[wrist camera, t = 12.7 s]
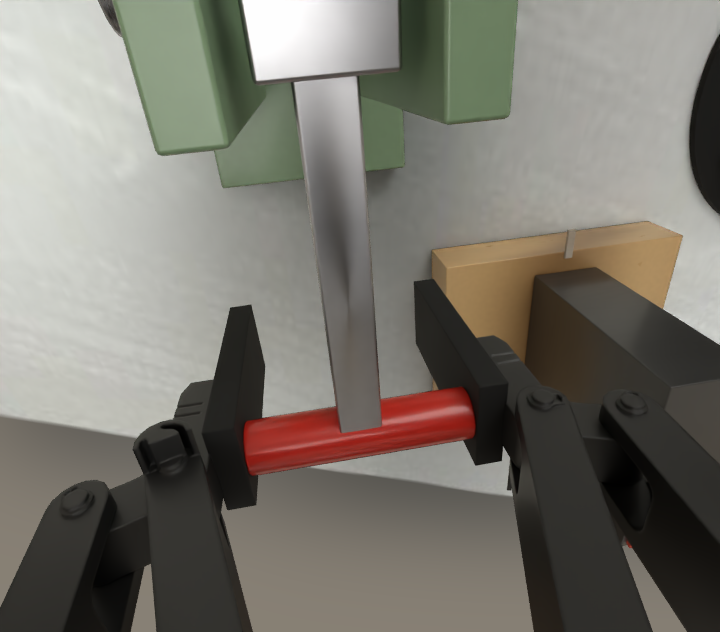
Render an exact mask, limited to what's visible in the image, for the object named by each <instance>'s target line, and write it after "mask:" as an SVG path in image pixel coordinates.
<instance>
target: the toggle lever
mask: <svg viewBox="0 0 720 632" xmlns="http://www.w3.org/2000/svg"><path fill="white" fill-rule="evenodd" d="M238 4H239V10H240V15H241V21H242V26H243V32H244V37H245V43H246V48H247V54H248V59H249V65H250V70H251V76H252V81H253V82H254V84H255V85H258V86H259V85H269V84H279V83H289V82H291V88H292V95H293V102H294V109H295V116H296V124H297V131H298V138H299V145H300V152H301V159H302V166H303V174H304V181H305V188H306V195H307V202H308V209H309V216H310V224H311V231H312V238H313V245H314V252H315V259H316V266H317V273H318V281H319V288H320V295H321V302H322V309H323V316H324V323H325V331H326V338H327V345H328V352H329V359H330V366H331V373H332V381H333V388H334V395H335V402H336V406H334V407H328V408H321V409H315V410H309V411H303V412H296V413H290V414H284V415H278V416H271V417H265V418H259V419H253V420H247V421H246V422H245V424H244V429H243V448H244V456H245V462H246V466H247V469H248V472H249V474H250V475H251V476H256V475H262V474H268V473H273V472H280V471H285V470H292V469H298V468H303V467H309V466H315V465H321V464H327V463H333V462H339V461H345V460H350V459H356V458H362V457H368V456H374V455H380V454H386V453H391V452H397V451H403V450H409V449H415V448H421V447H427V446H433V445H438V444H444V443H450V442H456V441H462V440H468V439H472V438H473V437H474V436H475V431H476V422H475V414H474V409H473V405H472V402H471V399H470V397H469V395H468V393H467V391H466V390H465V388H464V387H461V386H459V387H453V388H446V389H440V390H434V391H428V392H421V393H415V394H409V395H403V396H396V397H390V398H384V399H380V385H379V369H378V354H377V339H376V323H375V308H374V293H373V277H372V262H371V247H370V231H369V216H368V201H367V185H366V170H365V155H364V139H363V124H362V109H361V93H360V78H359V76H361V75H371V74H381V73H391V72H398V71H400V70H401V68H402V24H401V0H238Z"/></svg>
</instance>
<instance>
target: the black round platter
mask: <svg viewBox="0 0 720 632" xmlns="http://www.w3.org/2000/svg"><path fill="white" fill-rule="evenodd" d="M690 153H691V162H692V167H693V172H694V175H695V179H696V182H697V184H698V187H699V189H700V191H701V193H702V194H703V196H704V198H705V199H706V201H707V202H708V203H709V205H710V206H711V207H712V208H713V209H714V210H715V211H716V212H717V213H719V214H720V35H719V37H718V39H717V41H716V43H715V45H714V47H713V49H712V51H711V54H710V56H709V58H708V61H707V63H706V66H705V69H704V71H703V74H702V77H701V80H700V83H699V87H698V90H697V94H696V98H695V102H694V107H693V113H692V119H691V129H690Z"/></svg>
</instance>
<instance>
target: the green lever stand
mask: <svg viewBox="0 0 720 632" xmlns="http://www.w3.org/2000/svg"><path fill="white" fill-rule="evenodd" d="M98 2H99V4H100V6H101V8H102V11H103V13H104V14H105V16H106V18H107V20H108V22H109V23H110V25H111V26H112V28H113V29H114V31H115V32H116V33H117V34H118V35H119V36H120V37H122V38H123V40H124V44H125V47H126V51H127V54H128V58H129V61H130V65H131V68H132V72H133V75H134V79H135V82H136V86H137V89H138V92H139V96H140V99H141V103H142V106H143V110H144V113H145V117H146V120H147V124H148V127H149V131H150V134H151V138H152V141H153V144H154V148H155V151H156V152H157V153H158V155H162V156H168V155H177V154H186V153H195V152H204V151H213V150H214V153H215V157H216V162H217V166H218V171H219V175H220V179H221V184H222V187H223V188H230V187H239V186H247V185H256V184H264V183H273V182H282V181H290V180H299V179H304V174H303V166H302V159H301V152H300V145H299V138H298V131H297V124H296V116H295V109H294V102H293V95H292V88H291V82H289V83H279V84H269V85H259V86H258V85H255V84H254V82H253V81H252V76H251V70H250V65H249V59H248V54H247V48H246V43H245V37H244V32H243V26H242V21H241V15H240V10H239V4H238V0H98ZM517 6H518V0H401V24H402V68H401V70H400V71H398V72H391V73H381V74H371V75H361V76H359V78H360V93H361V109H362V124H363V139H364V155H365V170H366V172H367V171H376V170H385V169H393V168H402V167H404V166H405V158H404V129H403V110H405V111H408V112H411V113H414V114H417V115H420V116H423V117H426V118H429V119H432V120H435V121H438V122H441V123H444V124H447V125H452V124H461V123H470V122H479V121H488V120H498V119H505V118H507V117H508V116H509V114H510V106H511V92H512V78H513V63H514V49H515V35H516V21H517Z"/></svg>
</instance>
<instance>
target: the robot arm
mask: <svg viewBox="0 0 720 632" xmlns="http://www.w3.org/2000/svg"><path fill="white" fill-rule="evenodd" d="M414 298H415V330H416V344H417V346H418V348H419V350H420V352H421V354H422V357H423V359H424V361H425V363H426V365H427V367H428V369H429V371H430V373H431V375H432V377H433V379H434V381H435V383H436V385H437V387H438V389H439V390H440V389H446V388H453V387H459V386H461V387H464V388H465V390H466V391H467V393H468V395H469V397H470V399H471V402H472V405H473V409H474V414H475V422H476V431H475V436H474V437H473V438H472V439H468V440H463V441H464V443H465V445H466V447H467V449H468V451H469V453H470V455H471V457H472V459H473V461H474V464H475V466H476V465H482V464H487V463H493V462H498V461H502V452H503V446H504V448H505V450H506V451H507V453H508V455H509V457H510V466H509V476H508V486H507V490H511V489H512V493H513V499H514V506H515V512H516V519H517V525H518V532H519V538H520V544H521V551H522V558H523V564H524V570H525V577H526V583H527V590H528V596H529V603H530V609H531V616H532V622H533V629H534V632H653V631H652V628H651V625H650V623H649V620H648V617H647V614H646V611H645V609H644V606H643V603H642V601H641V598H640V595H639V592H638V589H637V587H636V584H635V581H634V578H633V576H632V573H631V570H630V567H629V564H628V562H627V559H626V556H625V554H624V551H623V548H622V545H621V542H620V540H619V537H618V534H617V531H616V529H615V526H614V523H613V520H612V517H613V519H614V521H615V522H616V524H617V525H618V527H619V528H620V530H621V531H622V533H623V534H624V536H625V537H626V539H627V540H628V542H629V543H630V545H631V547H632V548H633V550H634V551H635V553H636V554H637V556H638V557H639V559H640V560H641V562H642V563H643V565H644V566H645V568H646V570H647V571H648V573H649V574H650V575H651V577H652V579H653V580H654V582H655V583H656V585H657V586H658V588H659V589H660V591H661V592H662V594H663V596H664V597H665V599H666V600H667V602H668V603H669V605H670V606H671V608H672V609H673V611H674V612H675V614H676V615H677V617H678V619H679V620H680V622H681V623H682V625H683V626H684V628H685V629H686V631H687V632H720V464H719V463H718V462H717V461H716V460H715V459H714V458H713V457H712V456H711V455H710V454H709V453H708V452H707V451H706V450H705V449H704V448H703V447H702V446H701V445H700V444H699V443H698V442H697V441H696V440H695V439H694V438H693V437H692V436H691V435H690V434H689V433H688V432H687V431H686V430H685V429H684V428H683V427H682V426H681V425H680V424H679V423H678V422H676V421H675V420H674V419H673V418H672V417H671V416H670V415H669V414H668V413H667V412H666V411H665V410H664V409H663V408H662V407H661V406H660V405H659V404H658V403H657V402H656V401H655V400H653V399H652V398H650V397H649V396H647V395H644V394H642V393H640V392H636V391H632V390H627V389H616V390H613V391H609V392H607V393H606V394H605V395H604V396H603V400H602V404H588V403H576V402H569V400H568V399H567V397H566V396H565V395H564V394H563V393H561V392H560V391H558V390H556V389H553V388H551V387H548V386H542V385H541V384H540V382H539V381H538V380H537V379H536V378H535V376H534V375H533V374H532V373H531V372H530V370H529V369H528V368H527V367H526V365H525V364H524V363H523V362H522V361H520V358H519V357H518V356H517V355H516V353H515V354H514V351H513V350H512V348H511V347H510V346H509V345H508V344H507V342H505V341H503V340H502V339H500V338H498V337H496V336H494V335H491V336H484V337H478V338H476V337H475V335H474V334H473V333H472V331H471V330H470V328H469V327H468V326H467V324H466V323H465V322H464V320H463V319H462V317H461V316H460V315H459V313H458V312H457V311H456V309H455V308H454V306H453V305H452V304H451V302H450V301H449V299H448V298H447V297H446V295H445V294H444V293H443V291H442V290H441V288H440V287H439V286H438V284H437V283H436V281H435V280H434V279H429V280H422V281H415V282H414ZM264 378H265V363H264V359H263V354H262V350H261V345H260V341H259V337H258V332H257V328H256V323H255V319H254V315H253V310H252V306H251V305H246V306H239V307H232V308H230V311H229V315H228V319H227V324H226V328H225V333H224V337H223V341H222V346H221V350H220V354H219V359H218V363H217V367H216V372H215V376H214V380H207V381H201V382H194V383H191V384H190V385H189V386H188V387H187V388H186V389H185V390H184V392H183V393H182V394H181V396H180V399H179V402H178V405H177V409H176V412H175V415H174V418H173V420H167V421H163V422H160V423H157V424H155V425H153V426H151V427H149V428H148V429H146V430H145V431H144V432H142V433H141V434H140V435H139V437H138V438H137V439H136V441H135V442H134V446H133V451H134V454H135V456H136V458H137V460H138V463H139V465H140V467H141V469H142V472H143V475H142V476H140V477H138V478H136V479H134V480H132V481H130V482H127V483H125V484H123V485H120V486H118V487H115V488H113V489H110V490H109V488H108V487H107V485H106V484H105V483H104V482H101V481H98V480H90V481H84V482H81V483H78V484H76V485H74V486H72V487H70V488H68V489H66V490H65V491H63V492H62V493H60V494H59V495H58V496H57V497H56V498H55V499H54V500H52V502H51V503H50V505H49V506H48V508H47V509H46V511H45V513H44V515H43V517H42V519H41V521H40V524H39V526H38V528H37V530H36V532H35V534H34V537H33V539H32V541H31V543H30V545H29V547H28V549H27V552H26V554H25V556H24V558H23V560H22V562H21V565H20V566H19V569H18V571H17V573H16V575H15V577H14V579H13V582H12V584H11V586H10V588H9V590H8V592H7V594H6V597H5V599H4V601H3V603H2V605H1V607H0V632H131V627H132V622H133V617H134V613H135V608H136V603H137V599H138V594H139V589H140V585H141V579H142V575H143V570H144V567H145V566H146V565H149V564H151V568H152V580H153V593H154V606H155V618H156V631H157V632H253V631H252V627H251V623H250V619H249V615H248V611H247V608H246V604H245V600H244V596H243V592H242V588H241V584H240V580H239V576H238V573H237V569H236V565H235V561H234V557H233V553H232V549H231V545H230V542H229V538H228V534H227V530H226V526H225V522H224V520H223V517H222V514H221V508H222V501H223V498H224V501H225V504H226V507H227V510H232V509H237V508H243V507H248V506H254V505H256V501H257V485H258V475H256V476H251V475H250V474H249V472H248V469H247V466H246V462H245V456H244V448H243V429H244V424H245V422H246V421H247V420H253V419H259V418H262V409H263V393H264ZM610 514H611V515H610ZM611 516H612V517H611Z"/></svg>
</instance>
